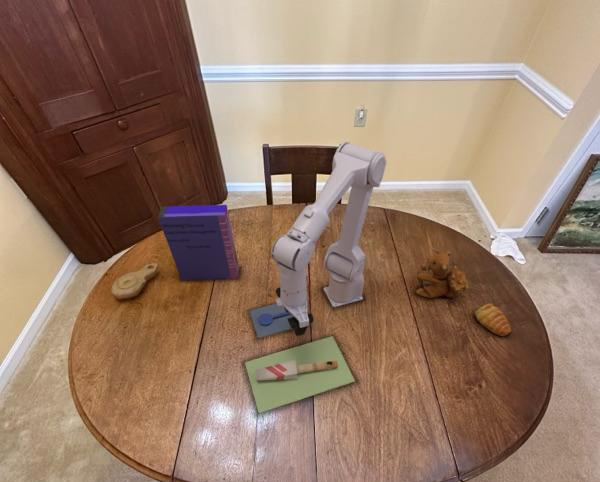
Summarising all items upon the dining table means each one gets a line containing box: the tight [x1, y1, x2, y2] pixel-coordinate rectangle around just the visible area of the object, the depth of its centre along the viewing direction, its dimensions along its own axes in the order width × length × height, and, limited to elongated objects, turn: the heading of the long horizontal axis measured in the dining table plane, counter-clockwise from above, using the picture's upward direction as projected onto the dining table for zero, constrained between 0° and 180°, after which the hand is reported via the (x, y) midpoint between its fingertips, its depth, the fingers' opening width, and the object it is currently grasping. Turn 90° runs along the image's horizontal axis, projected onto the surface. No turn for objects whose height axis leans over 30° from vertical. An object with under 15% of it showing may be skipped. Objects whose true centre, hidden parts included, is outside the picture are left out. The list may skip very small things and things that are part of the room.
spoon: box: [258, 312, 291, 326], centre depth 98 cm, size 14×4×1 cm, turn 109°
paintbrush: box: [256, 360, 338, 380], centre depth 85 cm, size 4×3×20 cm
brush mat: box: [244, 335, 356, 415], centre depth 86 cm, size 24×14×1 cm, turn 109°
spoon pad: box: [249, 302, 294, 339], centre depth 98 cm, size 14×10×1 cm
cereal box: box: [157, 204, 240, 281], centre depth 102 cm, size 17×5×24 cm, turn 92°
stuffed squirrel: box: [415, 251, 470, 299], centre depth 100 cm, size 10×14×13 cm
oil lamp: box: [111, 263, 159, 300], centre depth 105 cm, size 11×14×5 cm
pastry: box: [474, 303, 512, 337], centre depth 94 cm, size 9×7×4 cm
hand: (294, 322), depth 85 cm, fingers open, 7 cm apart
